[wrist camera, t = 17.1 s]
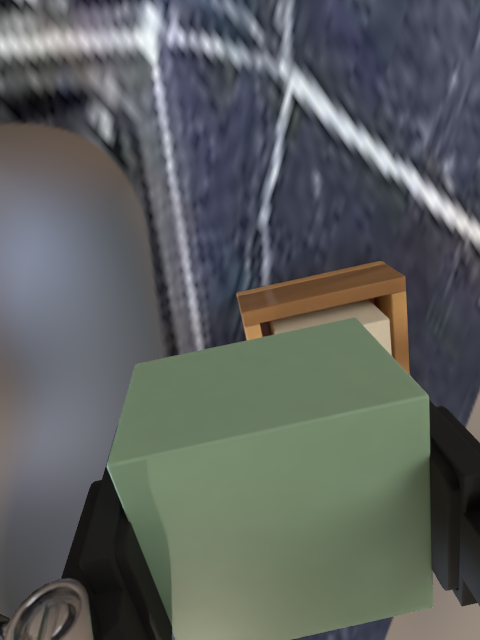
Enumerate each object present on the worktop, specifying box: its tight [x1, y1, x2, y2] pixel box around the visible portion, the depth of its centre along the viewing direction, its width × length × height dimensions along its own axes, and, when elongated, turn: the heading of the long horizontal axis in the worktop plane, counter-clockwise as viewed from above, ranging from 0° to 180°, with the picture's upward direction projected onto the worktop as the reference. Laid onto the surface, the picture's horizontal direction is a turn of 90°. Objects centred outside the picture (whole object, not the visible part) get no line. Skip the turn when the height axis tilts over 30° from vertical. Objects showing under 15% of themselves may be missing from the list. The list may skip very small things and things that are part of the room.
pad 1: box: [269, 299, 392, 356], centre depth 23 cm, size 6×6×4 cm
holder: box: [236, 261, 410, 375], centre depth 26 cm, size 16×8×3 cm, turn 11°
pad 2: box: [107, 318, 433, 640], centre depth 10 cm, size 6×6×4 cm
